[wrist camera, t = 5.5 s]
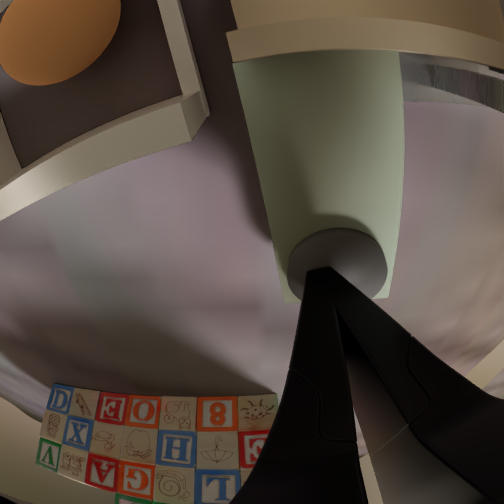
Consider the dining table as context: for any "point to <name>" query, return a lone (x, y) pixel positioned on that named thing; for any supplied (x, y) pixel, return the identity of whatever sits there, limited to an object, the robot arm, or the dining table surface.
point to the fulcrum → (449, 81)
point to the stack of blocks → (155, 443)
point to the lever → (342, 120)
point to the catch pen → (112, 130)
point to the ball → (55, 37)
